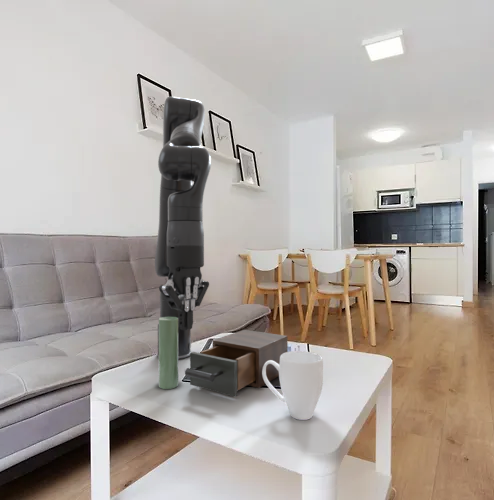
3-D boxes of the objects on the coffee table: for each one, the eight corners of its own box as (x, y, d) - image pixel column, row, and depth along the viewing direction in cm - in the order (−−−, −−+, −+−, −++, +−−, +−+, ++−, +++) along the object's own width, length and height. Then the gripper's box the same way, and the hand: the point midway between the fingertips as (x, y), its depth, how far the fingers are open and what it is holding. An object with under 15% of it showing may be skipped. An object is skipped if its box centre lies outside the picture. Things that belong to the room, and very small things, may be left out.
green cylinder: (154, 386, 86) (154, 318, 86) (168, 380, 90) (168, 315, 90) (168, 390, 83) (168, 320, 83) (182, 384, 87) (182, 317, 87)
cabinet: (259, 388, 85) (259, 348, 85) (212, 376, 92) (212, 340, 92) (287, 370, 97) (287, 335, 97) (244, 361, 105) (244, 329, 105)
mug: (325, 409, 73) (325, 353, 73) (319, 428, 66) (319, 365, 66) (268, 400, 78) (268, 347, 78) (256, 417, 70) (256, 358, 70)
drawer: (220, 404, 73) (220, 368, 73) (175, 391, 80) (175, 357, 80) (266, 378, 89) (266, 347, 89) (224, 368, 96) (224, 340, 96)
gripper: (193, 244, 82) (193, 322, 82) (147, 244, 71) (148, 333, 71) (219, 244, 77) (220, 325, 77) (176, 243, 66) (176, 338, 66)
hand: (185, 329), depth 74 cm, fingers closed
